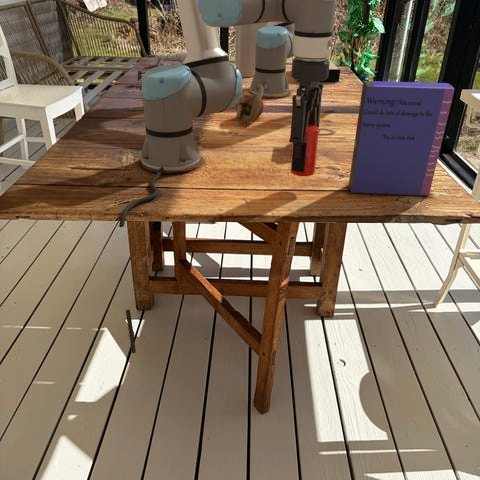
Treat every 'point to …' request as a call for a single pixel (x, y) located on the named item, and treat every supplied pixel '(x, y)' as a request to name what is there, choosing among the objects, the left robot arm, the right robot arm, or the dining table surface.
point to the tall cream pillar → (246, 48)
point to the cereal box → (399, 137)
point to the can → (309, 151)
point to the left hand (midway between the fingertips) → (302, 165)
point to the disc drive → (333, 73)
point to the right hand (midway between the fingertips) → (381, 24)
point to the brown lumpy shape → (250, 106)
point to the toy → (170, 57)
